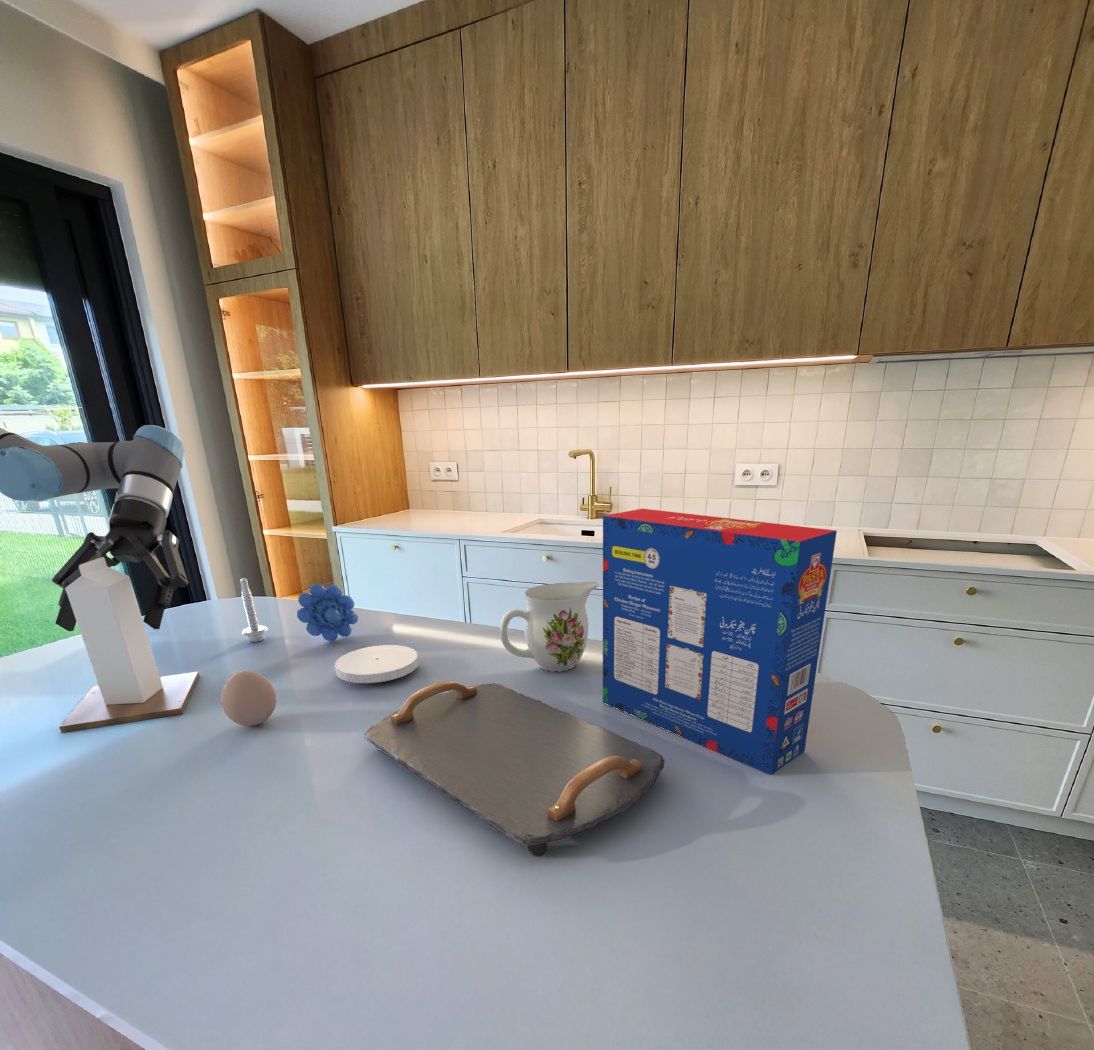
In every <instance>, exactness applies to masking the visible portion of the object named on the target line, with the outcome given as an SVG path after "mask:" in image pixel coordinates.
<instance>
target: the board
mask: <svg viewBox="0 0 1094 1050" xmlns="http://www.w3.org/2000/svg"><path fill="white" fill-rule="evenodd" d="M160 679H161V682H162V686H163V688H162V689H161V690H159V691H158V692H157V693H155V694H154V695H153V696H152V697H150V698H149V699H148V700H146V701H145V702H144V703H131V704H111V705H106V704H105V702H104V699H103V696H102V693H101V691H100V688H99V685H98V684H97V685H93V686H92V687H91V689H89V691H88V692H86V694H85V695H84V696H83V698H82V699H81V700H80V701H79V703H78V704H77V705H76V706H75V707H74V709H73V710H72V711H71V712H70V714H69V715H68V716H67V717H66V718H65V719H64V720H63V722H62V723H61V724H60V725H59V730H60V733H62V734H63V733H69V732H75V731H80V730H81V731H82V730H87V729H94V728H100V727H106V726H114V725H120V724H126V723H132V722H140V721H144V720H152V719H158V718H164V717H171V716H178V715H183V713H184V711H185V709H186V707H187V705H188V702H189V701H190V697H191V696H192V694H193V692H194V690H195V687H196V685H197V683H198V681H199V679H200V672H199V670H198V671H191V672H184V673H177V674H176V673H175V674H170V675H169V674H168V675H162V676H160Z"/></svg>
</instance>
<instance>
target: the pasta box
mask: <svg viewBox="0 0 1094 1050" xmlns="http://www.w3.org/2000/svg"><path fill="white" fill-rule="evenodd" d="M837 532H838V530H837V529H836V530H835V529H827V528H818V527H817V528H816V527H810V526H802V525H801V526H800V525H791V524H782V523H776V522H775V523H774V522H764V521H755V520H748V519H739V518H738V519H737V518H729V517H723V516H722V517H720V516H711V515H703V514H694V513H686V512H678V511H677V512H676V511H667V510H657V509H651V508H638V509H632V510H627V511H621V512H616V513H611V514H606V515H602V704H603V703H606V704H608V705H610V706H612V707H615V708H618V709H619V710H621V711H625V712H627V713H628V714H632V715H634V716H636V717H638V718H640V719H643V720H645V721H647V722H649V723H648V724H650V723H652V724H655V725H656V726H655V727H657V726H659V727H662V728H664V729H666V730H669V731H671V732H673V733H675V734H678V735H680V736H682V737H681V738H683V737H684V738H683V739H685V738H686V739H685V740H687V739H688V740H687V741H690V740H691V741H690V742H692V741H693V743H694V742H695V743H694V744H696V745H699V744H700V745H699V746H701V745H703V746H702V747H703V748H706V749H708V748H709V749H708V750H711V751H713V752H715V753H718V754H720V755H723V756H724V757H727V758H729V759H732V760H734V761H736V762H739V763H741V764H744V765H746V766H749V767H750V768H753V769H755V770H758V771H760V772H762V773H764V774H767V775H769V776H771V775H773V774H774V773H776V772H777V771H780V770H781V769H782V768H783V767H785V766H786V765H787V764H789V763H790V762H792V761H793V760H795V759H796V758H798V757H799V756H800V755H801V754H804V752H805V750H806V744H807V737H808V729H809V724H810V718H811V717H810V715H811V711H812V704H813V695H814V689H815V681H816V676H817V668H818V662H819V657H820V656H819V654H820V649H821V642H822V635H823V629H824V620H825V615H826V614H825V613H826V607H827V600H828V593H829V587H830V580H831V572H832V568H833V567H832V565H833V559H834V553H835V548H836V547H835V546H836V540H837ZM610 706H609V707H610ZM612 707H611V708H612ZM619 710H618V711H619ZM621 711H620V712H621ZM628 714H627V715H628ZM636 717H635V718H636ZM638 718H637V719H638ZM640 719H639V720H640ZM643 720H642V721H643ZM645 721H644V722H645ZM647 722H646V723H647ZM652 724H651V725H652ZM659 727H658V728H659ZM664 729H663V730H664ZM666 730H665V731H666ZM671 732H670V733H671ZM673 733H672V734H673ZM675 734H674V735H675ZM678 735H677V736H678ZM680 736H679V737H680Z"/></svg>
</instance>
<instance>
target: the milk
mask: <svg viewBox="0 0 1094 1050" xmlns="http://www.w3.org/2000/svg"><path fill="white" fill-rule="evenodd" d="M79 569H80V572H81V576H80V577H79V578H78V579H76V580H75V581H74V582H72V583H71V584H70V585H68V586H67V587H66V588H65V589H66V592H67V595H68V598H69V601H70V604H71V607H72V609H73V612H74V615H75V618H76V625H77V626H78V630H79V633H80V635H81V638H82V641H83V644H84V647H85V650H86V652H87V655H88V658H89V661H90V664H91V667H92V670H93V673H94V675H95V679H96V682H97V685H99V688H100V691H101V693H102V696H103V699H104V702H105V704H106V705H111V704H131V703H144V702H145V701H146V700H148V699H149V698H150V697H152V696H153V695H154V694H155V693H157V692H158V691H159V690H161V689H162V688H163V686H162V682H161V679H160V677H161V676H160V673H159V669H158V665H157V663H156V662H157V661H156V659H155V656H154V653H153V650H152V645H151V643H150V640H149V639H150V638H149V636H148V633H147V629H146V626H145V622H143V621H144V618H143V617H142V613H141V609H140V606H139V603H138V599H137V596H136V593H135V589H134V587H133V583H132V580H131V577H130V575H127V574H125V573H123V572H120V571H118V570H116V569H114V568H112V567H108V566H107V564H106V561H105V558H104V557H101V558H98V559H95V560H92V561H89V562H87V563H84V564H81V565H79Z"/></svg>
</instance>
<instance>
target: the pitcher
mask: <svg viewBox="0 0 1094 1050" xmlns="http://www.w3.org/2000/svg"><path fill="white" fill-rule="evenodd" d="M598 586H600V582H598V581H582V582H581V581H580V582H556V583H554V582H553V583H545V584H542V585H536V586H534V587H533V586H532V587H530V588H528V589H526V590H525V591H524V598H525V602H526V606H527V607H526V610H524V609H521V608H512V609H510V610H508V611H506V613H505V614H504V615H503V616H502V618H501V620H500V624H499V636H500V641H501V643H502V645H503V647H504V648H505V649H506V650H507V651H508V652H509V653H510V654H512V655H513V656H516V657H519V658H527V659H529V658H530V659H533V660H534V662H535V663H536V664H537V665H538V667H539V666H540V667H541V668H543V669H545V670H544V671H547V670H552V671H551V672H554V671H558V672H560V671H559V670H566V669H569V668H571V667H573V666H575V665H576V666H577V664H578V663H579V661H580V660H581V659H582V657H583V655H584V652H585V649H586V647H587V641H588V637H589V617H588V613H587V610H586V609H587V608H586V603H587V600H588V598H589V596H590V594H591V592H593V590H595V589H596V588H597V587H598ZM514 618H523V619H524V621H523V623H524V624H523V628H524V638H525V641H526V646H527V649H524V648H523V649H522V648H519V647H516V646H515V645H514V644H512V643H511V642H510V640H509V637H508V636H509V635H508V626H509V624H510V621H511V620H512V619H514ZM576 666H575V667H576ZM540 667H539V668H540ZM541 668H540V669H541ZM543 669H542V670H543ZM566 671H567V670H566Z"/></svg>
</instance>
